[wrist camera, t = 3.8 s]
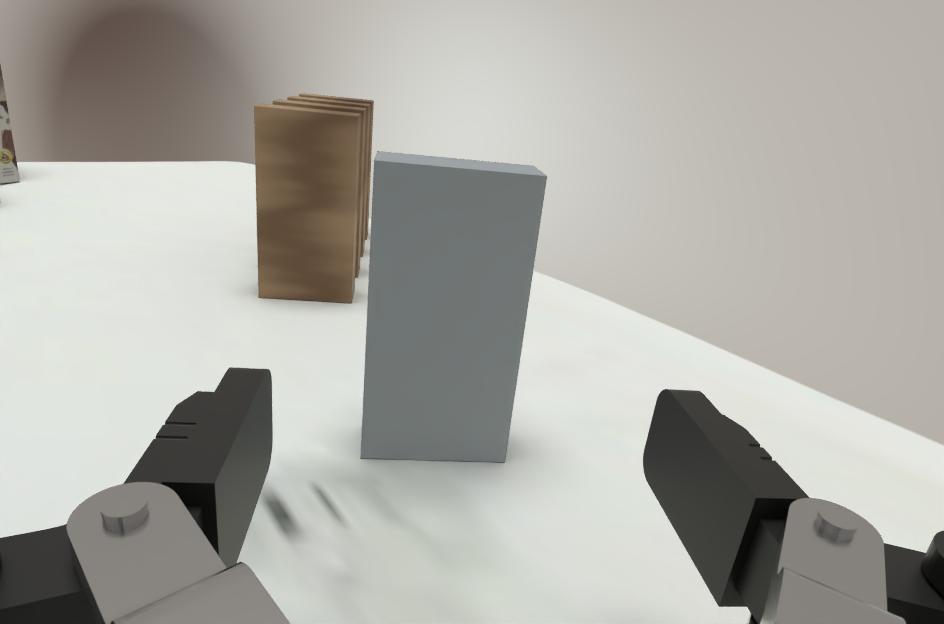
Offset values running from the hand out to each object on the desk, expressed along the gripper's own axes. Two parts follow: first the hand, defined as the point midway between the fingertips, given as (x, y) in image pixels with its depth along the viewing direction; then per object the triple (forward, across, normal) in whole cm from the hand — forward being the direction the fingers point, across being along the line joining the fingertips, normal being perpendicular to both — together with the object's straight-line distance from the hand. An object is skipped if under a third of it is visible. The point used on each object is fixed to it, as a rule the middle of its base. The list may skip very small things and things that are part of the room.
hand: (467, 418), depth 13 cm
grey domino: (+8, 0, +6) cm, 10 cm away
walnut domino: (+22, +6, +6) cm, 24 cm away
